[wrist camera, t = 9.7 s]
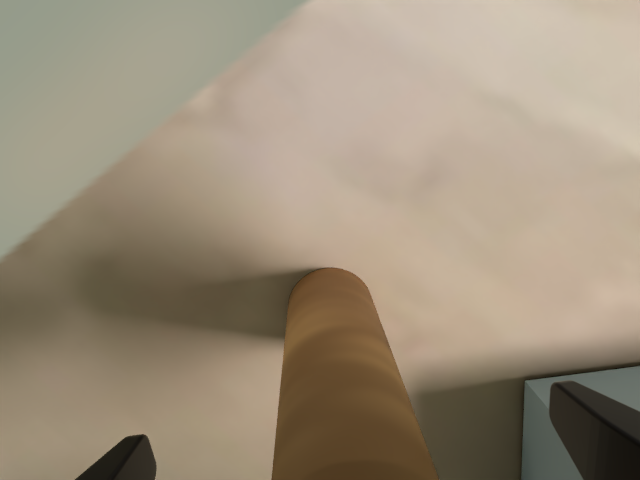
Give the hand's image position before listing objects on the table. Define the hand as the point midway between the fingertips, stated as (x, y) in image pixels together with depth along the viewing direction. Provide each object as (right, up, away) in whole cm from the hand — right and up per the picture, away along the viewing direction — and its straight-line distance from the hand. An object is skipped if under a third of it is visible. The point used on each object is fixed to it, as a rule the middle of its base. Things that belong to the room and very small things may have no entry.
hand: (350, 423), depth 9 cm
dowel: (0, +2, +5) cm, 6 cm away
